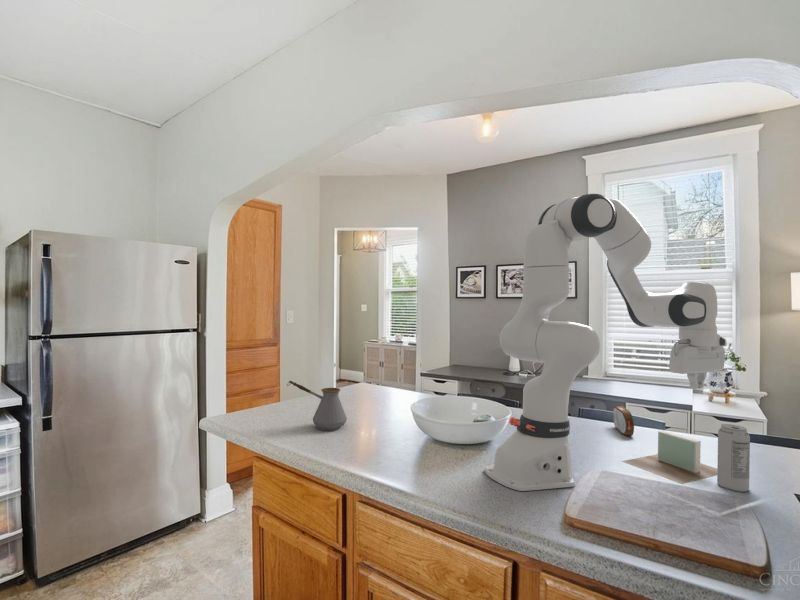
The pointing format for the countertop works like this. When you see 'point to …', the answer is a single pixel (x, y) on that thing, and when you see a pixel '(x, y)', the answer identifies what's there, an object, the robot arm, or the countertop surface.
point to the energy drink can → (733, 458)
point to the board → (671, 469)
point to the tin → (623, 420)
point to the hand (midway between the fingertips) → (696, 388)
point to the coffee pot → (327, 409)
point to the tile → (679, 451)
